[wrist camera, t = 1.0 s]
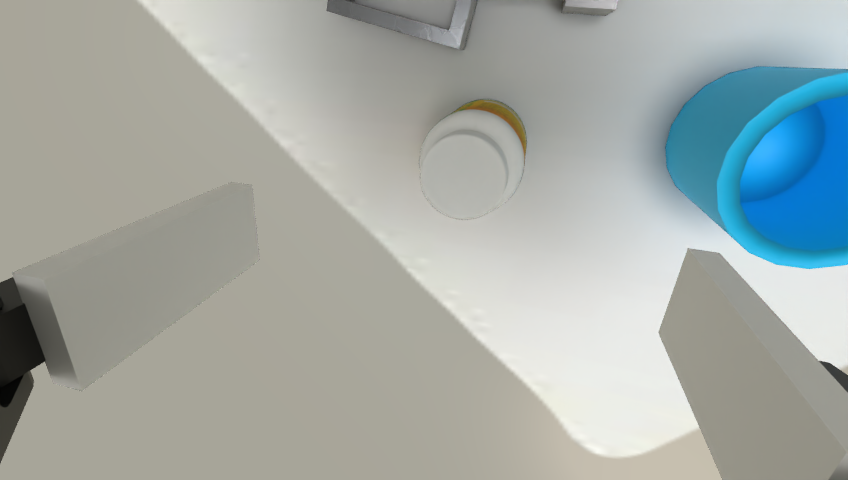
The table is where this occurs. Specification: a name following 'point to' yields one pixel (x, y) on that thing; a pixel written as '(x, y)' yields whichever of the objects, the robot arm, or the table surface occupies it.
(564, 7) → the shaft
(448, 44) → the collar
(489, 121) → the supplement bottle
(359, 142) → the table surface
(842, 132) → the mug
